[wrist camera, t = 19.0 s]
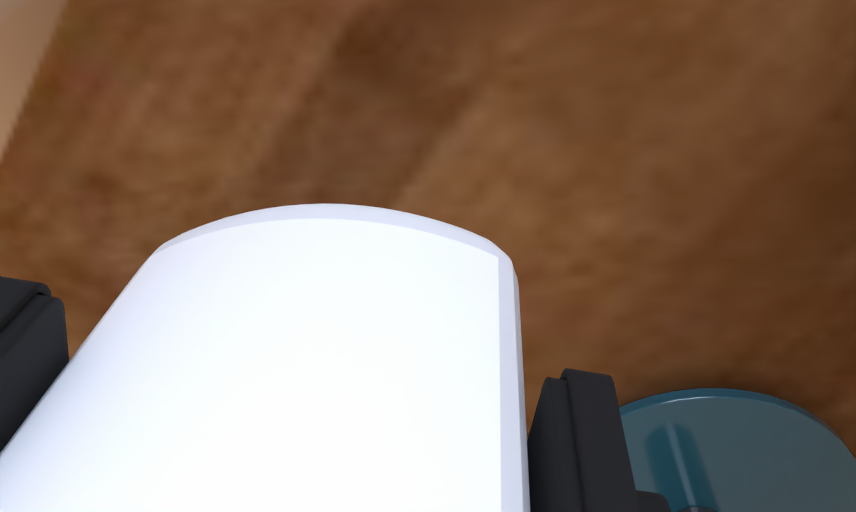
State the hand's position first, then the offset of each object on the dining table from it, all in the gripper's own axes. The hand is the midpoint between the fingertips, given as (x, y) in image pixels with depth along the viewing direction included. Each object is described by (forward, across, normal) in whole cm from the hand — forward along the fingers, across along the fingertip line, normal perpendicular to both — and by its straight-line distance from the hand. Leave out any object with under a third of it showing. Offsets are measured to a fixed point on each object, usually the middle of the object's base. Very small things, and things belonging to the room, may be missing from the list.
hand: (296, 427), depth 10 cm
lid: (+17, -14, +18) cm, 29 cm away
